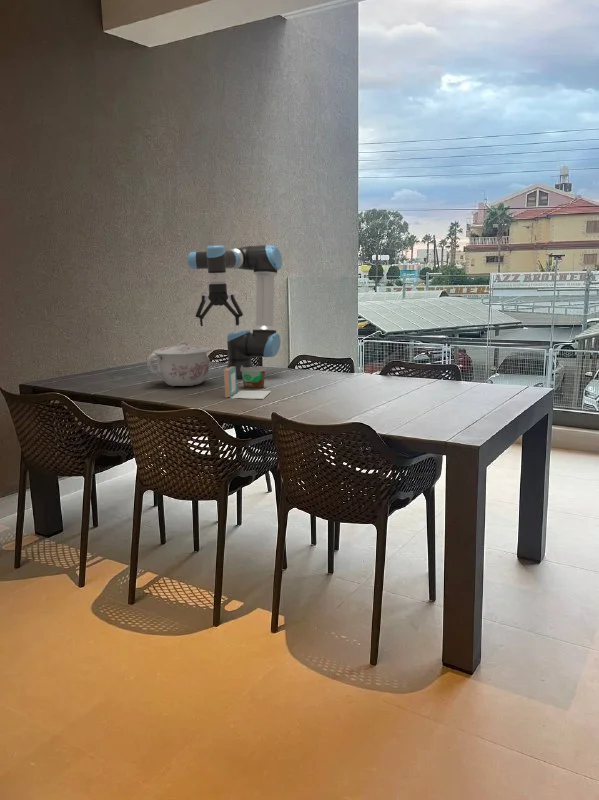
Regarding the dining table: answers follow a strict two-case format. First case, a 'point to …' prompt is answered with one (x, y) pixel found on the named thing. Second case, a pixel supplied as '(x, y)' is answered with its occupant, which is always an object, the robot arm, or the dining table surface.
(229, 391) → the tile
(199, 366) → the chamber pot
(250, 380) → the food container
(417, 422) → the dining table surface
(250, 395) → the mat
